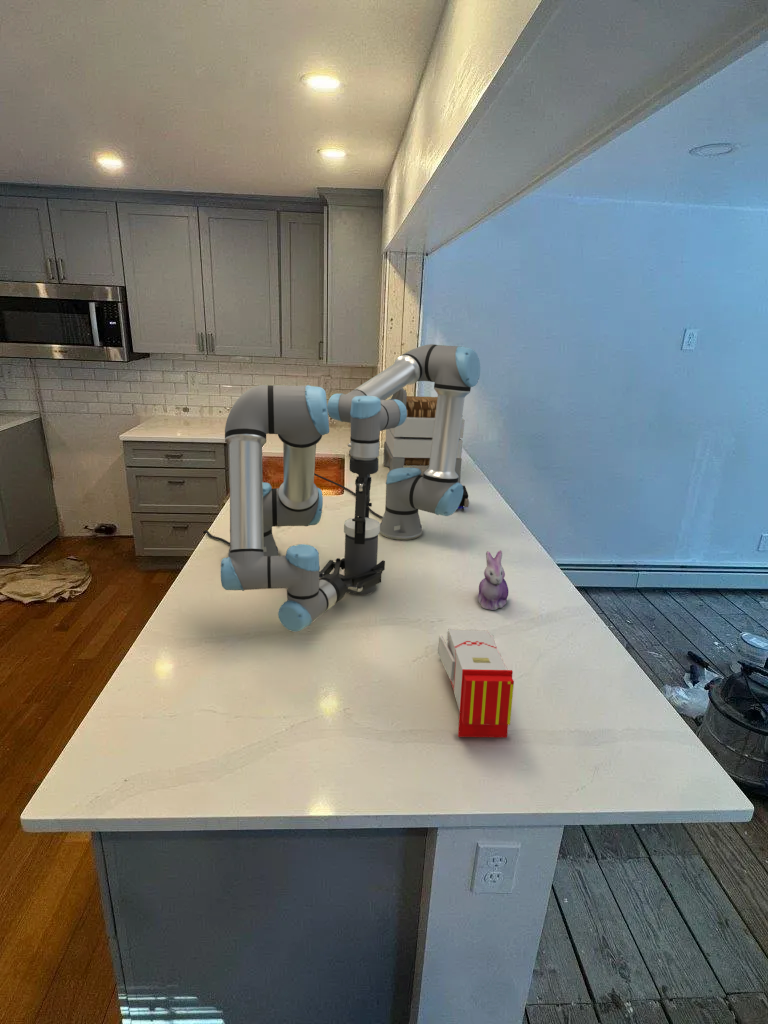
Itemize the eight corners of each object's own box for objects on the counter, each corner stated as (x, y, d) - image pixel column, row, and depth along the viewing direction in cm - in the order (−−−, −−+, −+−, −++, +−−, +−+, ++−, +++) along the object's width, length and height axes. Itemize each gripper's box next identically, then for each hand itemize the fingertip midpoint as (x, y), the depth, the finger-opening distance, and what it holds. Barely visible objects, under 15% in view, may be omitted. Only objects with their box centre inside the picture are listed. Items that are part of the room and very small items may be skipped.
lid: (340, 536, 151) (340, 528, 150) (348, 523, 160) (348, 515, 159) (376, 539, 149) (376, 531, 149) (382, 526, 159) (382, 518, 158)
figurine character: (468, 516, 224) (463, 500, 237) (471, 498, 221) (465, 483, 234) (452, 515, 224) (447, 499, 237) (453, 498, 220) (449, 482, 234)
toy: (488, 613, 130) (523, 677, 101) (484, 667, 133) (517, 744, 104) (435, 612, 130) (455, 676, 101) (432, 666, 133) (451, 743, 103)
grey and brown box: (382, 463, 289) (386, 382, 275) (445, 464, 293) (451, 384, 279) (390, 482, 257) (394, 392, 243) (460, 483, 261) (468, 394, 247)
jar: (337, 586, 161) (338, 525, 155) (362, 577, 166) (364, 519, 160) (357, 598, 155) (359, 536, 148) (382, 589, 160) (385, 528, 154)
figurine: (490, 614, 149) (496, 562, 144) (467, 597, 157) (472, 547, 152) (518, 607, 153) (525, 556, 148) (494, 591, 162) (500, 542, 156)
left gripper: (290, 594, 149) (335, 564, 168) (362, 617, 140) (402, 582, 159) (290, 569, 146) (336, 540, 165) (363, 590, 137) (403, 557, 156)
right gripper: (354, 446, 158) (352, 520, 166) (344, 467, 137) (342, 551, 145) (381, 447, 158) (378, 522, 165) (375, 469, 137) (371, 553, 144)
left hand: (368, 561), depth 162 cm, fingers closed on jar, 9 cm apart
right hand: (361, 536), depth 155 cm, fingers closed on lid, 10 cm apart
